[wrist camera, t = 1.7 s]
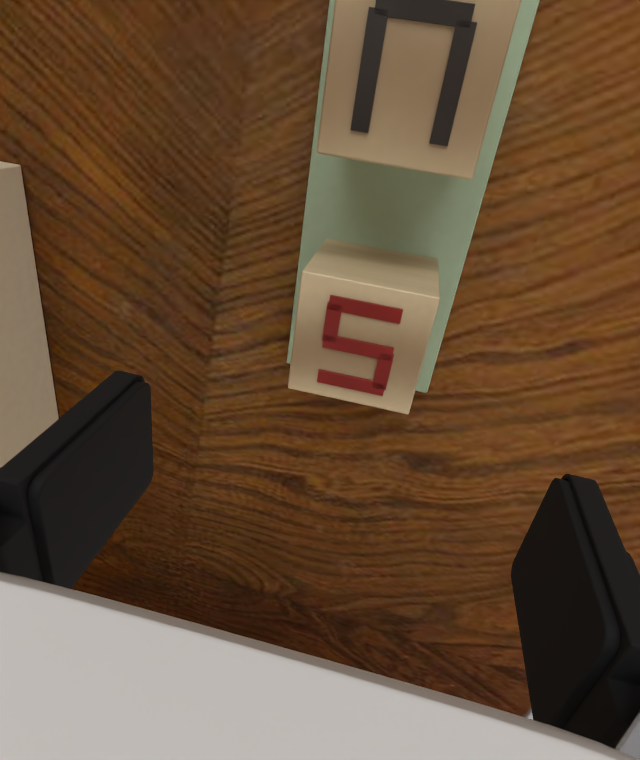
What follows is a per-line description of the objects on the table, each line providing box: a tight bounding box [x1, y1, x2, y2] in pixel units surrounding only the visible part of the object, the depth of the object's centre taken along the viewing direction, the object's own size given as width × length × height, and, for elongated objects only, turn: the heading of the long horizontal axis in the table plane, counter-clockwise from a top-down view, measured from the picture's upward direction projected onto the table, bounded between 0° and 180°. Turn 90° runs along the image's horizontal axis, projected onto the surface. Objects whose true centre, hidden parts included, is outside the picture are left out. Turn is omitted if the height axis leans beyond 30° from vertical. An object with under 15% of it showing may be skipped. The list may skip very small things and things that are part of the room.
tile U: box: [317, 0, 521, 180], centre depth 15 cm, size 4×4×5 cm
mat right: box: [287, 0, 540, 393], centre depth 19 cm, size 16×6×1 cm, turn 172°
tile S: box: [288, 238, 440, 414], centre depth 19 cm, size 4×4×5 cm
